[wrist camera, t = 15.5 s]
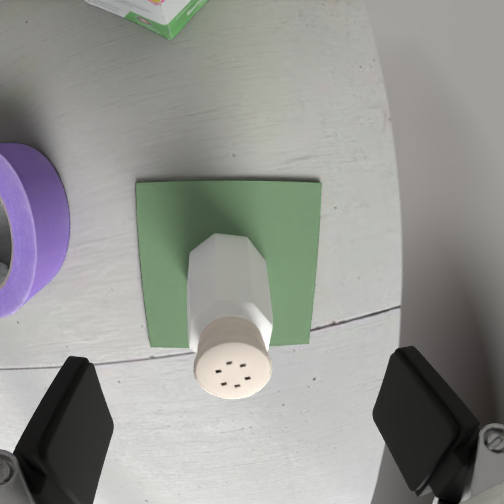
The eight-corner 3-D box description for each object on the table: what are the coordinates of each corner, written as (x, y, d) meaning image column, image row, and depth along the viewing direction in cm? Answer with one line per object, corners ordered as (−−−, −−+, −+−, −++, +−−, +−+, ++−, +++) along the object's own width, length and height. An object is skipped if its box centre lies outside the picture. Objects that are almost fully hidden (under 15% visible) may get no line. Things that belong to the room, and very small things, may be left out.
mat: (320, 182, 20) (321, 182, 20) (307, 341, 23) (308, 343, 23) (136, 182, 19) (135, 182, 19) (151, 345, 22) (150, 347, 22)
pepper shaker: (174, 243, 20) (131, 328, 10) (255, 221, 20) (294, 286, 10) (199, 315, 22) (188, 435, 11) (274, 296, 22) (318, 405, 11)
